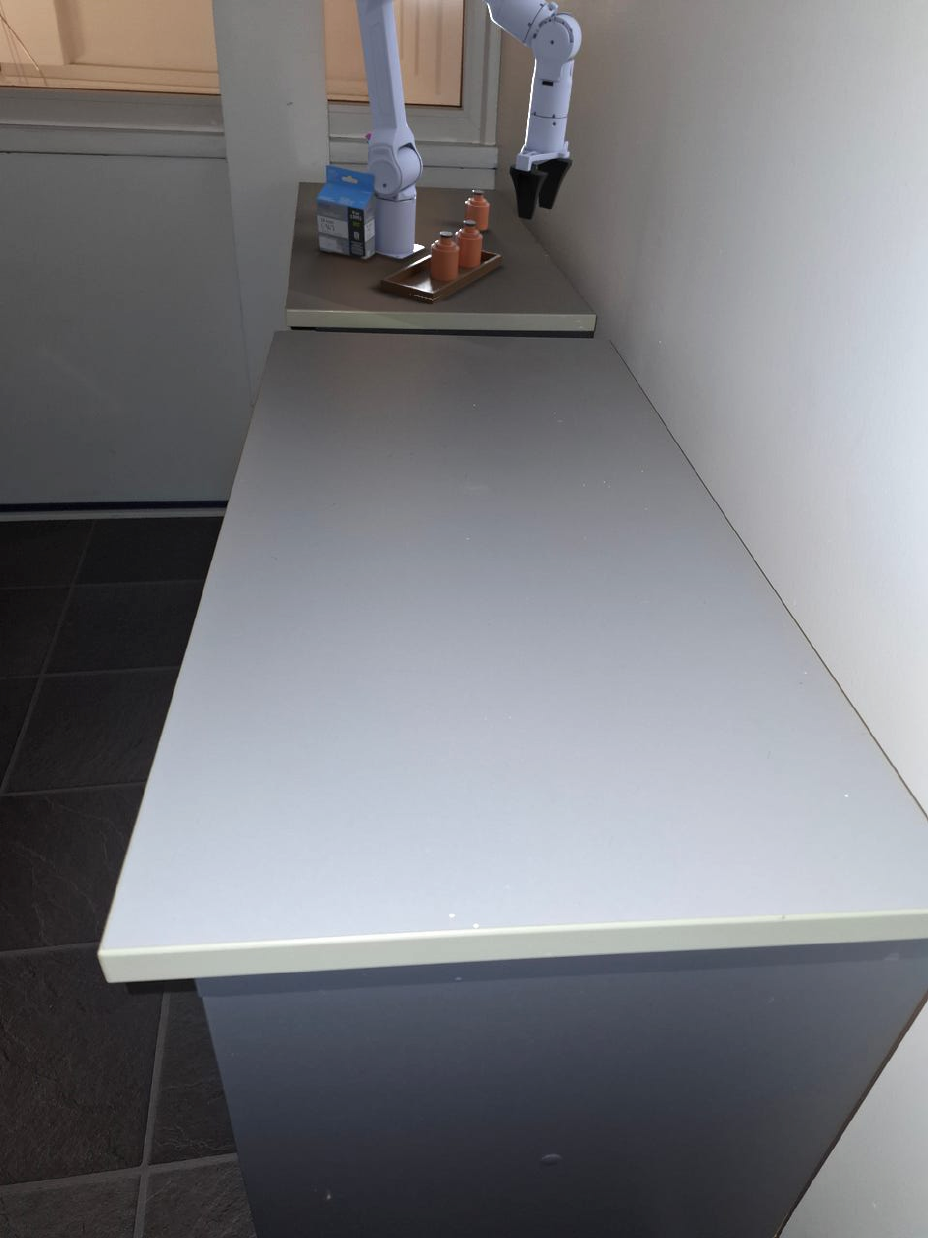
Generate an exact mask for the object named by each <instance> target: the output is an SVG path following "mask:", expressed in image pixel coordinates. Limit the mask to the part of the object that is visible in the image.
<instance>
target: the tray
mask: <svg viewBox="0 0 928 1238" xmlns="http://www.w3.org/2000/svg"><path fill="white" fill-rule="evenodd" d="M502 261H503V255H502V254H499V253H496V252H492V251H487V250H484V249H482V251H481V262H480V265H479V266H477V267H475V268H464V267H460V266H458V277H457V278H456V279H454V280H452V281H440V280H436V279H433V278H432V277H430V264H431V254H429V255H427V256H425V257H423V258H421V259H419V260H417V261H415V262H413V263H411V264H409V265H407V266H405V267H403V268H401V269H398V270H397V271H394V272H393V273H390V274H389V275H386V276H385V277H383V278H381V279H380V280H379V281H380V283H379V284H380V291H382V292H386V293H390V294H393V295H397V296H400V297H405V298H408V299H412V300H416V301H419V302H423V303H426V304H430V305H434V304H436V303H438V302H440V301H441V300H443V299H445V298H446V297H448V296H450V295H452V294H454V293H455V292H457V291H458V290H460V289H462V288H464V287H465V286H467V285H468V284H470V283H472V282H474V281H476V280H477V279H479V278H481V277H483V276H484V275H486V274H488V273H490V272H491V271H493V270H495V269H496V268H498V267H500V266H502ZM410 294H411V295H410ZM414 295H419V296H423V297H427V298H432V299H434V298H437V297H439V296H440V297H439V298H437V299H435V300H433V301H432V300H429V299H425V298H421V297H418V296H414ZM441 295H442V296H441Z"/></svg>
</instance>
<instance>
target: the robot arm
mask: <svg viewBox="0 0 928 1238" xmlns="http://www.w3.org/2000/svg"><path fill="white" fill-rule="evenodd" d="M481 1H482V2H483V3H485V4H487V6H488V10H489V14H490V19H491V21H492V22H493V23H495V24H496V25H497V26H499V27H500V28H501V29H503V30H504V31H505V32H506V33H508V35H509V34H510V35H511V36H512V37H513V38H515V39H516V40H517V41H519V42H520V43H521V44H523V45H524V46H525V47H527V48H531V51H532V54H533V56H534V58H535V60H534V61H535V62H534V71H533V76H532V82H531V90H530V91H531V92H530V98H529V108H528V117H527V125H526V133H525V134H526V135H525V142H524V143H525V144H523V146H522V148H521V151H520V152H519V153H517V154H516V162H515V163H513V164H511V165H509V170H508V171H509V173H508V174H509V175H510V177H511V180H512V183H513V186H514V191H515V197H516V206H517V216H518V218H520V219H524V220H528V221H531V220H533V218H534V216H535V212H536V208H537V204H538V207H539V208H542V209H546V210H550V211H551V210H552V209H553V207H554V205H555V203H556V200H557V196H558V194H559V192H560V188H561V186H562V183H563V181H564V179H565V177H566V175H567V173H568V172H569V170H570V169H571V167H572V165H573V159H571V158H570V151H569V150H568V149H569V144H570V143H569V141H567V140H565V137H566V131H567V130H566V129H567V122H568V115H569V109H570V102H571V93H572V87H573V73H574V66H575V59H574V57H575V56H576V55H577V53H578V52H579V50H580V48H581V45H582V39H583V35H582V30H581V29H582V28H581V26H580V23H579V22H578V21H577V20H576V19H575V18H574V16H573V15H572V13H570V12H566V11H562V12H557V11H558V8H559V5H558V4H557V3H555V1H551V2H550V3H549V2H548V1H546V0H481ZM394 2H395V0H355V3H356V5H355V6H356V11H357V12H356V13H357V19H358V25H359V35H360V42H361V49H362V56H363V64H364V70H365V79H366V84H367V85H366V86H367V94H368V99H369V100H368V102H369V108H370V109H369V110H370V116H371V123H372V131H373V132H372V135H371V138H370V141H369V144H368V143H367V154H368V153H369V160H368V159H367V164H366V169H365V173H367V174H372V175H373V187H374V189H373V190H374V225H375V254H379V255H382V256H386V257H389V258H393V259H394V258H395V259H398V260H404V259H405V258H406V257H409V256H411V255H413V254H415V253H417V252H419V251H421V250H424V249H425V246H423V245H419V244H415V241H416V240H415V239H416V238H415V237H416V214H417V212H416V211H417V190H416V183H417V182H418V181H420V179H421V177H422V174H423V169H424V167H423V166H424V165H423V159H422V157H421V155H420V153H419V151H418V149H417V147H416V142H415V135H414V134H413V132H412V129H410V127H409V126H408V123H407V115H406V113H407V112H406V106H405V96H404V89H403V80H402V79H403V78H402V71H401V62H400V52H399V45H398V37H397V27H396V19H395V18H396V17H395V9H394ZM537 202H538V203H537Z"/></svg>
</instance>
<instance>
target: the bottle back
mask: <svg viewBox="0 0 928 1238" xmlns="http://www.w3.org/2000/svg"><path fill="white" fill-rule="evenodd" d="M475 227H476V222H475V221H471V220H466V221H464V220H463V228H461V229H460V230H459V231H457V232H456V233H455V241H454V242H455V243H456V245H457V246H458V247H459V262H458V266H460V267H464V268H475V267H477V266H479V265H480V262H481V251H482V250H483V239H484V238H483V235H482V234H481V233H480V230H475Z"/></svg>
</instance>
